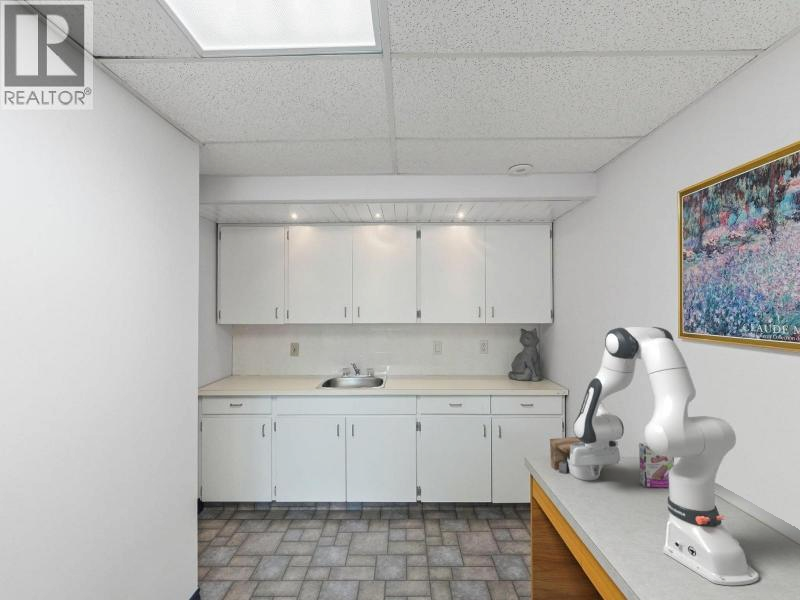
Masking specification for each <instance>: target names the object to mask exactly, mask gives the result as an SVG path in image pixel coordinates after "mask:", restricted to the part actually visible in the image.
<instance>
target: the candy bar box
mask: <svg viewBox="0 0 800 600" xmlns="http://www.w3.org/2000/svg"><path fill="white" fill-rule="evenodd" d="M638 445H639V446H638V448H639V449H638V450H639V451H638V452H639V453H638V454H639V484H641V485H642V486H643V485H644V486H645V487H644V486H643V487H644V488H646V487H648V488H647V489H649V488H650V489H651V488H652V489H653V488H656V489H657V488H658V489H662V488H663V489H669V471H670V469H671V468H672V467H673V466H674V465H675V458H673V457H665V456H659V455H656V454H655V453H653V452H652V451H651V450H650V449H649V447H648V446H647V444H646V442H639V443H638Z"/></svg>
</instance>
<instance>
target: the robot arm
mask: <svg viewBox="0 0 800 600" xmlns="http://www.w3.org/2000/svg"><path fill="white" fill-rule="evenodd" d="M604 346H605V348H604V351H603V355H602V359H601V363H600V368H599V370H598V372H597V373H596V376H595V377H594V378H593V379H592V380H590V382H589V384H588V386H587V388H586V391H585V394H584V398H583V400H582V403H581V406H580V409H579V413H578V415H577V417H576V419H575V420H574V422H573V433H574V435H575V437H577V438H578V439H579V440H580V441H582V442H579V443H573V444H572V445H571V446H570V463H571V464H572V465H574V466H575V467H579V466H588V467H589V469H590V470H591V475H592V476H597V475H599V476H600V474H601V473H600V472H601V470H602V468H603V465H612V464H613V465H614V464H615V465H616V464H619V462H620V461H621V455H620V449H619V447H618V446H619V443H618V441H617V440H620V439H621V438H623V435H624V433H625V432H624V431H625V428H624V424H623V421H622V419H621V418H619V417H618V416H616V415H615V414H612V413H611V412H610V411H608V410H607V409H606V407H605V405H604V404H603V403H602V401H603V400H605V398H607V397H608V396H610V395H613V394H615V393H618V392H620V391H622V390H625V389H627V388H628V387H629V386H630V385H631V383H632V381H633V379H634V374H635V369H636V361H637V360H638V359H639V360H641V361H642V362H643V364H644V366H645V370H646V374H647V376H648V380H649V383H650V388H651V392H652V394H653V401H654V402H653V403H654V408H653V413H652V417H651V419H650V420H649V422H648V423H647V424H646V426H645V428H644V430H643V439H644V443H646V444H647V446H648V447H649V449H650V450H651V451H652V452H653V453H655V454H656V455H659V456H665V457H673V458H674V459H675V458H679V459H678V461H677V463H675V464H674V466H673V467H672V468H671V469H670V471H669V488H668V496H667V502H666V503H667V510H668V512H669V515H668V518H667V523H666V531H665V532H666V533H665V539H664V545H663V547H662V553H664V554H665V555H667V556H669V557H670V558H672V559H673V560H675V561H677V562H678V563H680V564H681V565H683V566H685V567H687V568H688V569H690V570H691V571H693V572H694V573H696V574H698V575H700V576H702V577H703V578H704V579H706V580H708V582H709V581H710V582H711V583H713V584H717V585H722V586H744V585H750V584H754V583H755V582H758V580H759V578H760V576H759V573H758V572H757V571H756V570H755V569H754V568H752V567H751V566H750V565H748V563H747V559H746V558H747V557H746V554H745V552H744V549H743V548H742V546H740V542H739V541H738V539H736V538H734V537H733V536H732V535H731V533H730V532H729V531H728V529H726V527H725V526H724V525H723V523H722V521H724V520H725V518H724V517H725V515H721V514H720V513H719V511H718V508H717V505H716V497H715V495H716V494H715V493H716V491H715V488H716V479H717V478H716V477H717V475H718V471H719V468H720V466H721V463H722V461H723V460H724V458H725V456H726V455H727V454H728V453H729V452H730V451H731V450H733V448H734V447H735V445H736V441H737V436H736V433H735V430H734V429H733V427H732V426H731V424H730V423H728V422H727V420H725V419H723V418H720V417H714V416H713V417H712V416H707V415H698V416H689V414H688V413H689V412H688V411H689V410H688V408H689V404H690V403H692V401H693V400H694V399H695V398H696V395H697V392H696V387H695V385H694V381H693V379H692V377H691V376H692V375H691V374H690V371H689V368H688V365H687V362H686V360H685V358H684V357H683V356H684V355H683V354H682V352H681V350H680V349H679V347H678V345H677V344H676V343H675V341H674V337H673V334H672V333H671V332H670V331H669V330H667V329H666V328H663V327H658V326H653V327H649V326H627V327H617V328H612V329H611V330H609V331H608V332H606V336H605V338H604ZM594 465H597V468H596V470H593V468H594Z"/></svg>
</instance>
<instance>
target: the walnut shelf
mask: <svg viewBox="0 0 800 600" xmlns="http://www.w3.org/2000/svg"><path fill="white" fill-rule="evenodd" d="M579 442H582V441H580V440H579V439H578V438H577V437H576V436H573V437H572V436H571V437H561V438H560V437H557V438H550V439H549V445H550V447H549V449H550V450H549V451H550V467H551V468H552V469H553V470H554V471H558V473H560V474H564V475H567V474H568V473H570V471H569V465H568V461H567V457H568V456H569V455H570V446H571V445H572V444H573V443H579Z"/></svg>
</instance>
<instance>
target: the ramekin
mask: <svg viewBox="0 0 800 600" xmlns="http://www.w3.org/2000/svg"><path fill="white" fill-rule="evenodd" d="M567 461H568V465H569V473H570V475H571V476H572V477H574V478H575V479H577V480H581V481H595V480H597V479H599V477H600V475H597V476H592V475H591V470H590V469H589V467H588V466H579V467H575V466H574V465H572V464H571V463H570V455H569V456H568V457H567ZM596 468H597V465H594V468H593V470H596Z"/></svg>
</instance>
